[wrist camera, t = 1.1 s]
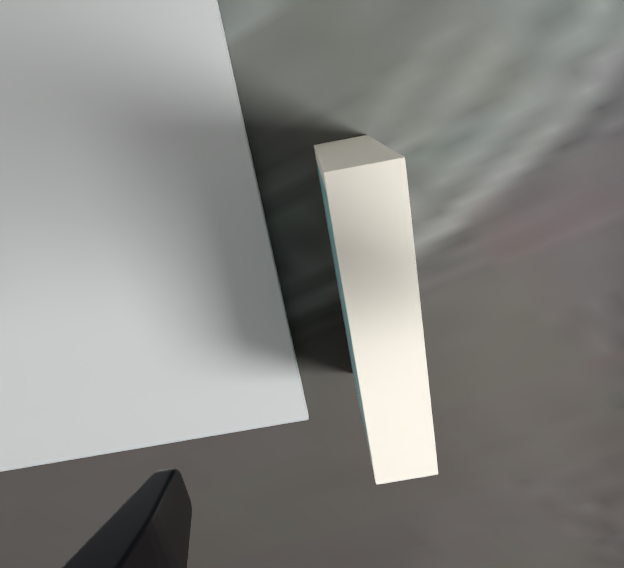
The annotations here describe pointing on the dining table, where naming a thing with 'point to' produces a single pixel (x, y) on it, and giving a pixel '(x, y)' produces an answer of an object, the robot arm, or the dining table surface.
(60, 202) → the mat
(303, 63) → the dining table surface
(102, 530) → the robot arm
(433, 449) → the block
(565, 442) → the dining table surface
